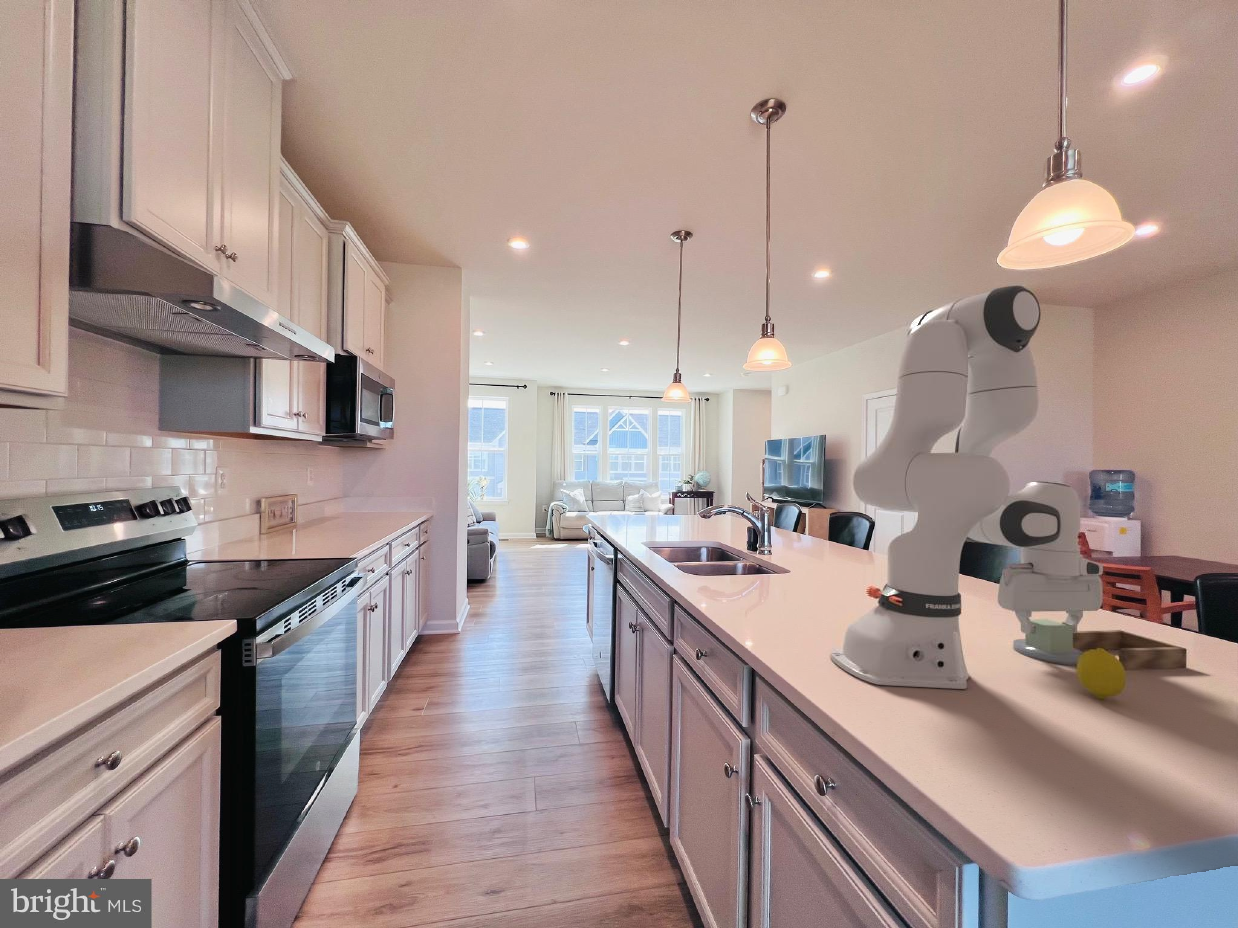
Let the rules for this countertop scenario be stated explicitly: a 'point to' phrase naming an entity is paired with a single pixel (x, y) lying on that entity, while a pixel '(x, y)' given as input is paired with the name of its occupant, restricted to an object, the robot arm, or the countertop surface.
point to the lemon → (1101, 673)
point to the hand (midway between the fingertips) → (1048, 632)
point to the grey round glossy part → (1047, 654)
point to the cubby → (1133, 649)
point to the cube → (1051, 636)
